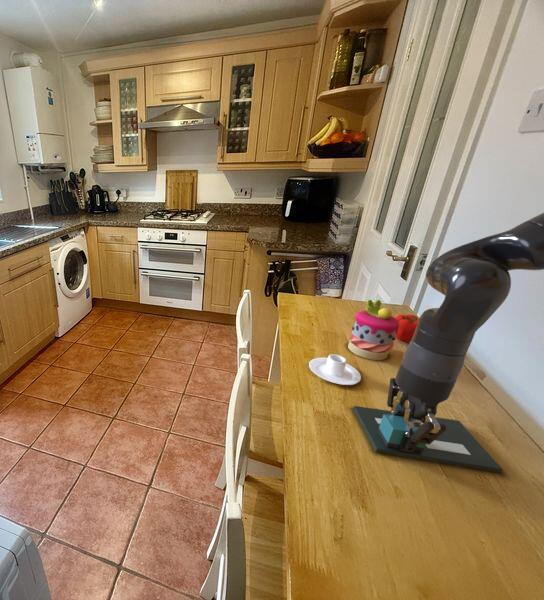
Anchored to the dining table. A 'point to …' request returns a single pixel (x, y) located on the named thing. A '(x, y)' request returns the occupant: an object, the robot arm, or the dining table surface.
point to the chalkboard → (445, 449)
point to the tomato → (406, 327)
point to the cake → (373, 332)
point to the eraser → (395, 431)
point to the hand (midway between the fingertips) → (399, 440)
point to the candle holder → (335, 370)
